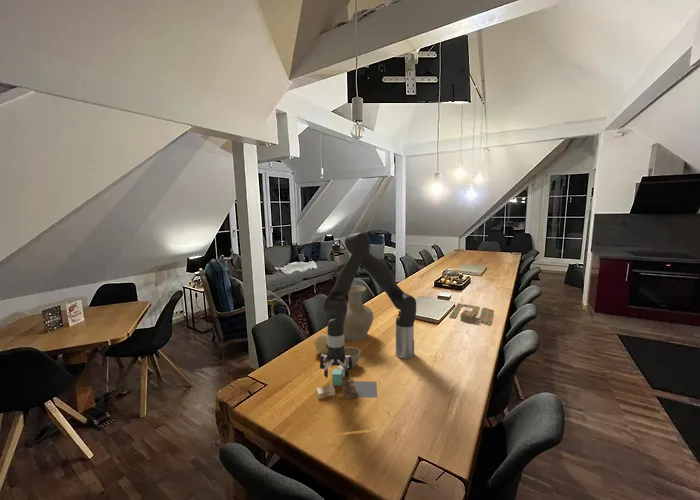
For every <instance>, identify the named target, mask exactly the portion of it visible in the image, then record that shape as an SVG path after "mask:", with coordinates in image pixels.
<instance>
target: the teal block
mask: <svg viewBox="0 0 700 500" xmlns="http://www.w3.org/2000/svg"><path fill="white" fill-rule="evenodd" d="M331 377H332V378H331V379H332V381H331V383H332V384H331V385H333V387H334V386H339V387H342V382H343V377H342V369H338V368H337V369H336V368H335V369H332V373H331Z"/></svg>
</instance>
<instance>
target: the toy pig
mask: <svg viewBox="0 0 700 500" xmlns="http://www.w3.org/2000/svg"><path fill="white" fill-rule="evenodd" d="M327 336H328V334H325V333H322V334H319V335H318V336H317V337H316V339H315V341H314V347H315V351H316V352H318V353H320V355H321V354H324V355H327Z"/></svg>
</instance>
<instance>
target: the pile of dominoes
mask: <svg viewBox="0 0 700 500" xmlns="http://www.w3.org/2000/svg"><path fill="white" fill-rule="evenodd" d="M462 307H463V308H464V307H465V308H470V309H472V310H471V311H470V310H466V309H465V310H463V311H462V312H460V310H461V309H462ZM479 310H480V306H478V305H470V304H465V303H460V302H459V303H456V305H455V307H454V308H453V310H452V311H451V313H450V314H449V316H448V318H450V319H454V320H455V319H457V318H456V317H457V316H458V314H459V312H460V322H464V323H469V324H474V322H475V320H476V318H477V315H478V314H479ZM480 311H481V312H480V314H479V316H478V319H477V323H479V324H482V325H485V326H488V327H489V326H491V325H492V324H493V318H494V310H493V309H491V308H487V307H483V308H481V310H480Z"/></svg>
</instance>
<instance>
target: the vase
mask: <svg viewBox="0 0 700 500" xmlns="http://www.w3.org/2000/svg"><path fill="white" fill-rule="evenodd" d="M366 290H367V287H366V286H363V285H356V284H355V285H354V284H353V285H351V288H350V291H349V293H348V295H347V297H348V298H347V303H346V304H347V313H346V317H345V321H344V340H347V341H350V342H361V341H364V340H366V339H367V337H368V333H369V331H370V328H371V327H372V324H373V320H374V312H373V310H372V309H371V308H370V307H369V306H367V305H366V304H363V302H362V301H363V300H362V295H363V294H364V293H365V291H366Z"/></svg>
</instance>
